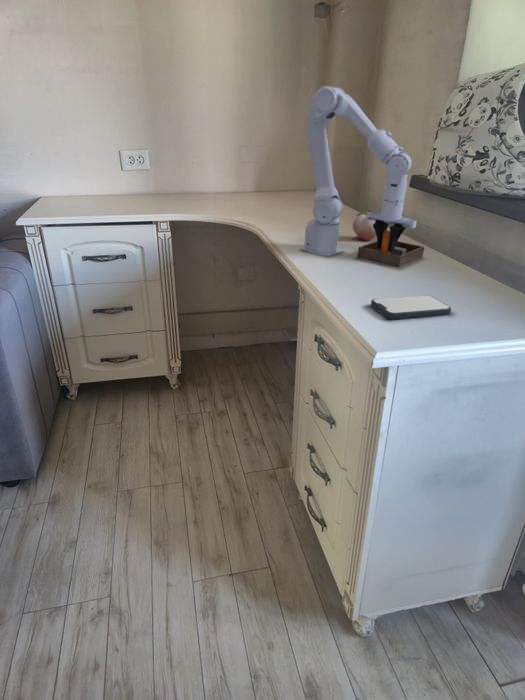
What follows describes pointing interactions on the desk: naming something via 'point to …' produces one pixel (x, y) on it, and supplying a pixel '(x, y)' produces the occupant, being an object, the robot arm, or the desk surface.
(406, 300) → the phone case
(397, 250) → the eraser
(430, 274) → the desk surface
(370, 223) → the decorative fruit
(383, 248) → the glue stick
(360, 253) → the box
